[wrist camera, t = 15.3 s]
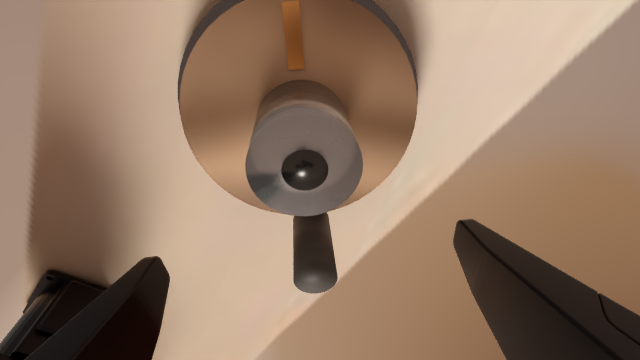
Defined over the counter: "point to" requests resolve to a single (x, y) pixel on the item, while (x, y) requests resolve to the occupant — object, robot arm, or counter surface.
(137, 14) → the counter surface
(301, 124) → the cover
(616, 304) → the robot arm
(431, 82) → the counter surface
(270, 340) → the counter surface
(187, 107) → the turntable
